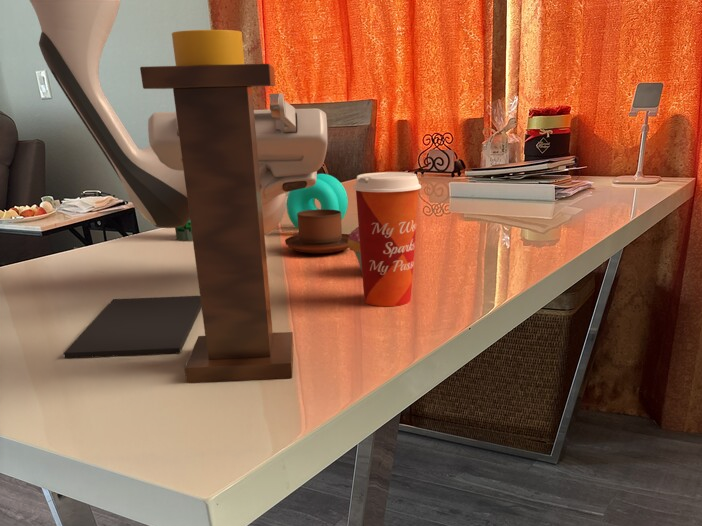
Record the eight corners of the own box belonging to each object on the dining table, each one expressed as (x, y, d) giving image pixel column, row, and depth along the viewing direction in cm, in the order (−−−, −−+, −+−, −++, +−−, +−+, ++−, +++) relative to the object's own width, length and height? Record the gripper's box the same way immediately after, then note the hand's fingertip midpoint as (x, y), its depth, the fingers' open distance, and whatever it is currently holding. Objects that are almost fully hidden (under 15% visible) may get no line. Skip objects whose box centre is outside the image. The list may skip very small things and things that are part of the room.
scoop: (199, 71, 72) (196, 43, 71) (255, 70, 72) (253, 42, 71) (170, 66, 56) (166, 30, 55) (242, 64, 57) (238, 29, 55)
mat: (64, 358, 75) (63, 352, 75) (113, 303, 94) (112, 299, 94) (179, 353, 75) (179, 347, 75) (205, 299, 95) (204, 295, 94)
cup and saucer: (279, 247, 125) (276, 210, 122) (344, 241, 128) (343, 205, 125) (295, 260, 115) (292, 220, 112) (365, 254, 118) (364, 215, 115)
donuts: (350, 227, 142) (348, 173, 137) (337, 236, 133) (335, 179, 128) (302, 226, 144) (299, 173, 139) (286, 235, 135) (282, 178, 130)
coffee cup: (378, 312, 87) (377, 180, 80) (344, 298, 94) (339, 174, 86) (433, 301, 91) (436, 174, 84) (396, 289, 97) (396, 169, 90)
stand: (186, 383, 68) (139, 66, 55) (200, 349, 76) (162, 69, 64) (292, 378, 68) (269, 63, 56) (293, 345, 77) (274, 67, 64)
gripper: (161, 140, 88) (130, 73, 75) (325, 135, 89) (325, 69, 76) (163, 190, 88) (133, 133, 74) (328, 185, 89) (328, 128, 75)
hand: (231, 101), depth 75 cm, fingers open, 8 cm apart
